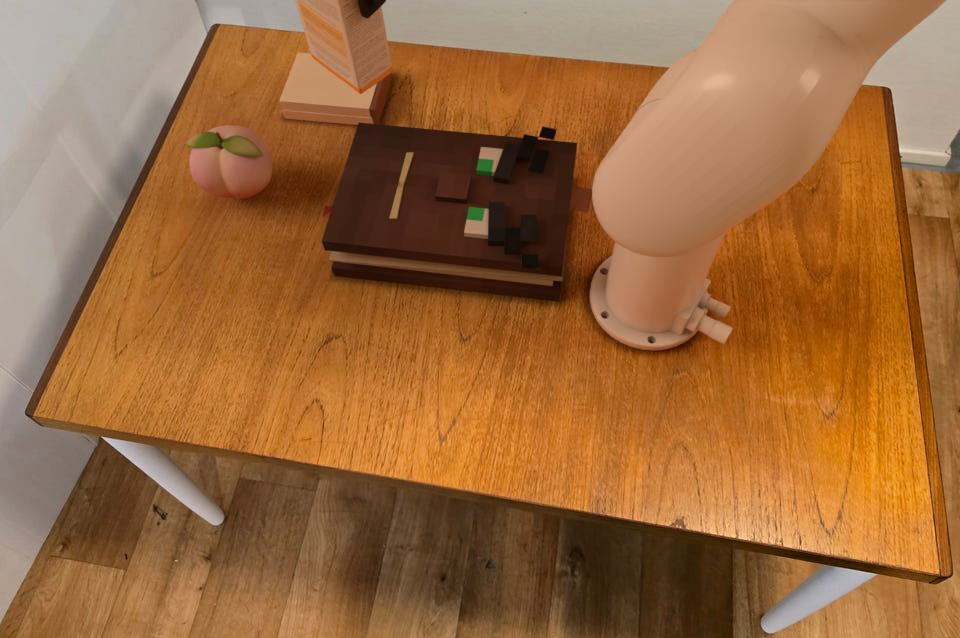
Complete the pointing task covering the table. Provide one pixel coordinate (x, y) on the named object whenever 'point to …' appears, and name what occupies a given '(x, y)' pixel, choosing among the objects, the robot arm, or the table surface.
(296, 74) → the thin cream books
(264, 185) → the decorative fruit
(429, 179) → the decorative book
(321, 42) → the supplement box
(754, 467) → the table surface
